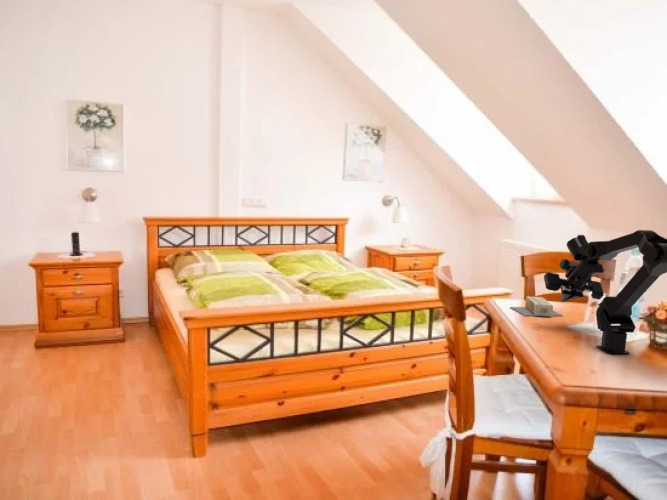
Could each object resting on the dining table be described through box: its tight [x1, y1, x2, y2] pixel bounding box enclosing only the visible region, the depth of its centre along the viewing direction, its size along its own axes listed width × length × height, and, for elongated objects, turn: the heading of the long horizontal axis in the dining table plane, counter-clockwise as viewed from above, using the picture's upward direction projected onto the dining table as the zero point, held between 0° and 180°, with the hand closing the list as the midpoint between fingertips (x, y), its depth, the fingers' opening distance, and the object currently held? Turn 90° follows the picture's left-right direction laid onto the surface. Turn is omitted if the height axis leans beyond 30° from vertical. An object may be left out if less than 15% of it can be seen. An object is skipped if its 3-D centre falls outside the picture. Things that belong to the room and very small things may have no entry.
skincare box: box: [524, 295, 554, 317], centre depth 197 cm, size 6×4×12 cm
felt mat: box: [509, 306, 564, 317], centre depth 198 cm, size 11×15×1 cm
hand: (561, 300), depth 182 cm, fingers closed
